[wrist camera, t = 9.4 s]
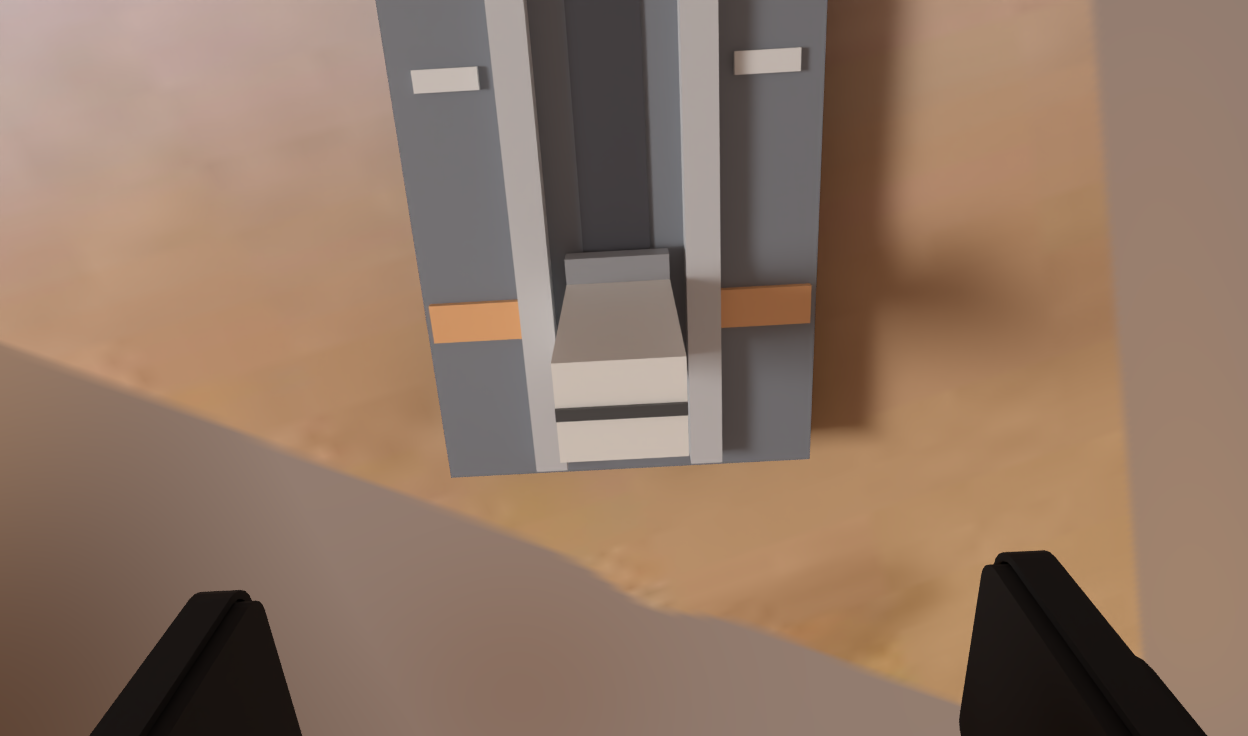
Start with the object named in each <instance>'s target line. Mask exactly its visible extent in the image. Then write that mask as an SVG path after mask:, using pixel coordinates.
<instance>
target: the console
mask: <svg viewBox="0 0 1248 736" xmlns="http://www.w3.org/2000/svg"><path fill="white" fill-rule="evenodd" d="M375 1H376V7H377V13H378V20H379V26H380V32H381V38H382V45H383V51H384V57H385V64H386V70H387V76H388V82H389V89H390V95H391V101H392V108H393V114H394V120H395V127H396V133H397V139H398V145H399V152H400V158H401V164H402V171H403V177H404V183H405V190H406V196H407V202H408V208H409V215H410V221H411V227H412V234H413V240H414V246H415V252H416V259H417V265H418V271H419V278H420V284H421V290H422V297H423V303H424V309H425V315H426V322H427V328H428V334H429V341H430V347H431V353H432V359H433V366H434V372H435V378H436V385H437V391H438V397H439V404H440V410H441V416H442V422H443V429H444V435H445V441H446V448H447V454H448V460H449V466H450V473H451V478H452V477H471V476H491V475H510V474H529V473H548V472H567V471H587V470H606V469H625V468H644V467H664V466H683V465H702V464H721V463H740V462H760V461H779V460H798V459H810V433H811V408H812V382H813V357H814V331H815V306H816V280H817V254H818V229H819V203H820V178H821V152H822V127H823V101H824V75H825V50H826V24H827V0H375ZM658 248H668V252H669V268H670V282H671V287H672V291H673V296H674V301H675V305H676V310H677V315H678V319H679V324H680V329H681V333H682V338H683V343H684V347H685V352H686V358H687V395H688V433H689V456H681V457H661V458H642V459H623V460H604V461H585V462H566V463H560V454H559V444H558V433H557V423H556V418H555V403H554V392H553V382H552V372H551V360H552V355H553V350H554V345H555V340H556V335H557V330H558V325H559V320H560V315H561V310H562V305H563V300H564V295H565V290H566V273H565V261H564V259H565V255H566V254H569V253H586V252H604V251H622V250H640V249H658Z"/></svg>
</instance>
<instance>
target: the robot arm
mask: <svg viewBox="0 0 1248 736" xmlns="http://www.w3.org/2000/svg"><path fill="white" fill-rule="evenodd" d="M959 723H960V724H959V725H960V733H961V736H1207V735H1206V734H1205V732H1204V731H1203V730H1202V729H1201V728H1200V726H1199V725H1198V724H1197V723H1196V721H1195V720H1194V719H1193V718H1192V717H1191V715H1190V714H1189V713H1188V712H1187V711H1186V709H1185V708H1184V707H1183V706H1182V704H1181V703H1180V702H1179V701H1178V700H1177V698H1176V697H1175V696H1174V695H1173V693H1172V692H1171V691H1170V690H1169V689H1168V687H1167V686H1166V685H1165V684H1164V682H1163V681H1162V680H1161V679H1160V678H1159V676H1158V675H1157V674H1156V673H1155V672H1154V670H1153V669H1152V668H1151V667H1150V666H1148V664H1147V663H1146V662H1145V661H1144V660H1143V659H1141V658H1138V657H1136V656H1135V655H1134V654H1133V652H1132V651H1131V650H1130V649H1129V648H1128V646H1127V645H1126V644H1125V643H1124V641H1123V640H1122V639H1121V638H1120V636H1119V635H1118V634H1117V633H1116V631H1115V630H1114V629H1113V628H1112V627H1111V625H1110V624H1109V623H1108V622H1107V620H1106V619H1105V618H1104V617H1103V615H1102V614H1101V613H1100V612H1099V610H1098V609H1097V608H1096V607H1095V605H1094V604H1093V603H1092V602H1091V601H1090V599H1089V598H1088V597H1087V596H1086V594H1085V593H1084V592H1083V591H1082V589H1081V588H1080V587H1079V586H1078V584H1077V583H1076V582H1075V581H1074V580H1073V578H1072V577H1071V576H1070V575H1069V573H1068V572H1067V571H1066V570H1065V568H1064V567H1063V566H1062V565H1061V563H1060V562H1059V561H1058V560H1057V559H1056V557H1055V556H1054V555H1052V554H1051V553H1050V552H1048V551H1045V550H1042V551H1022V552H1003V553H1000V554H998V556H997V557H996V559H995V563H994V564H993V565H986V566H985V567H984V568H983V570H982V574H981V580H980V587H979V593H978V600H977V606H976V613H975V619H974V626H973V632H972V639H971V645H970V652H969V658H968V665H967V671H966V678H965V684H964V691H963V697H962V704H961V710H960V718H959ZM90 736H302V734H301V730H300V727H299V723H298V720H297V717H296V714H295V710H294V707H293V704H292V700H291V697H290V693H289V690H288V686H287V683H286V680H285V676H284V673H283V670H282V666H281V663H280V660H279V656H278V653H277V650H276V646H275V643H274V639H273V636H272V633H271V629H270V626H269V622H268V619H267V616H266V613H265V609H264V607H263V605H262V604H261V603H260V602H259V601H252V600H251V598H250V595H249V594H248V593H246V591H242V590H233V591H213V592H199V593H197V594H194V595H193V597H191V598H190V599H189V601H188V602H187V603H186V605H185V606H184V607H183V609H182V610H181V612H180V613H179V614H178V616H177V617H176V618H175V620H174V621H173V622H172V624H171V625H170V626H169V628H168V629H167V631H166V632H165V633H164V635H163V636H162V637H161V639H160V640H159V642H158V643H157V644H156V646H155V647H154V649H153V650H152V651H151V652H150V654H149V655H148V656H147V658H146V659H145V661H144V662H143V663H142V665H141V666H140V667H139V669H138V670H137V672H136V673H135V674H134V676H133V677H132V678H131V680H130V681H129V682H128V684H127V685H126V687H125V688H124V689H123V691H122V692H121V693H120V695H119V696H118V698H117V699H116V700H115V702H114V703H113V704H112V706H111V707H110V708H109V710H108V711H107V712H106V714H105V715H104V716H103V718H102V719H101V721H100V722H99V723H98V725H97V726H96V727H95V729H94V730H93V731H92V733H91V734H90Z"/></svg>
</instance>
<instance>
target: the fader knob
mask: <svg viewBox="0 0 1248 736" xmlns="http://www.w3.org/2000/svg"><path fill="white" fill-rule="evenodd" d="M564 261H565V273H566V290H565V295H564V300H563V305H562V310H561V315H560V320H559V325H558V330H557V335H556V340H555V345H554V350H553V355H552V360H551V372H552V382H553V392H554V403H555V418H556V423H557V433H558V444H559V454H560V463H566V462H585V461H604V460H623V459H642V458H661V457H681V456H689V433H688V395H687V358H686V352H685V347H684V343H683V338H682V333H681V329H680V324H679V319H678V315H677V310H676V305H675V301H674V296H673V291H672V287H671V282H670V268H669V252H668V248H658V249H640V250H622V251H604V252H586V253H569V254H566V255H565V259H564Z"/></svg>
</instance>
